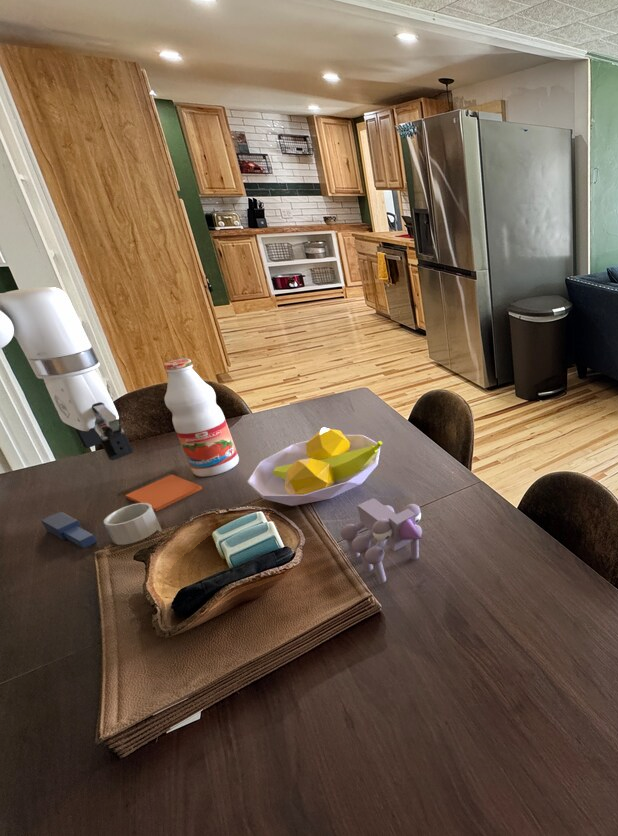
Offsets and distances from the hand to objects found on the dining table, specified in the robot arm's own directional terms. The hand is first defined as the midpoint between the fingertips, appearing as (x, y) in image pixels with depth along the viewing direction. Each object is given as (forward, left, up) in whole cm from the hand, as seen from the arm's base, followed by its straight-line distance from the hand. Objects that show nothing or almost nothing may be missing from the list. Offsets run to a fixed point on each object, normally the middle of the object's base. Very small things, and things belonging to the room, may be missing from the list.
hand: (109, 450), depth 86 cm
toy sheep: (+14, -51, -20) cm, 57 cm away
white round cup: (-1, +2, -20) cm, 20 cm away
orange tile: (+10, +15, -20) cm, 27 cm away
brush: (-6, +15, -20) cm, 26 cm away
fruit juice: (+21, +16, -20) cm, 33 cm away
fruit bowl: (+27, -16, -20) cm, 38 cm away
